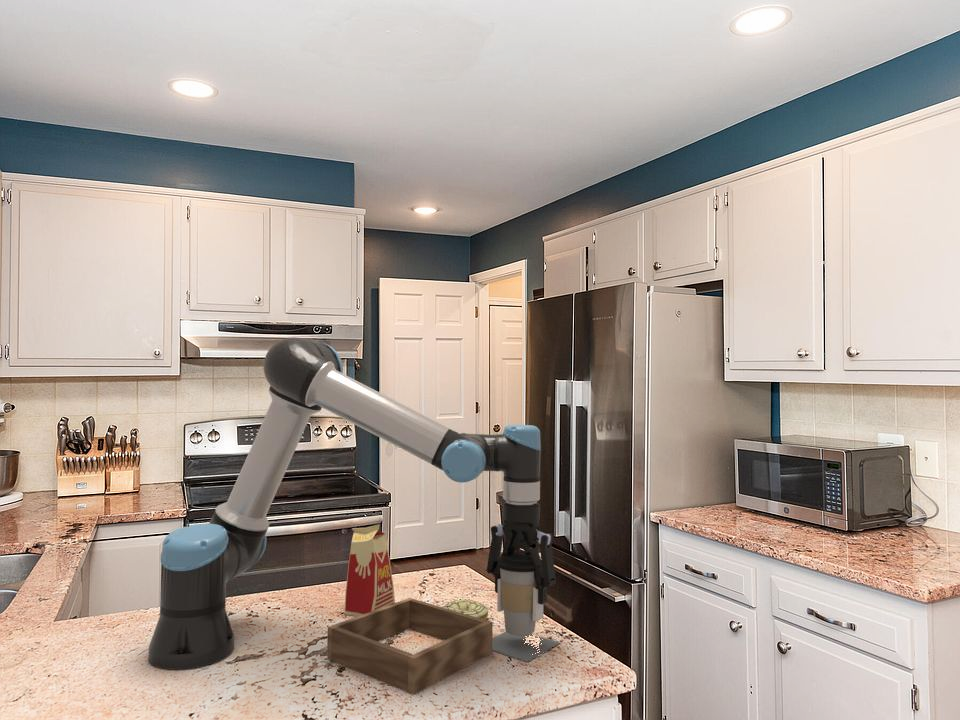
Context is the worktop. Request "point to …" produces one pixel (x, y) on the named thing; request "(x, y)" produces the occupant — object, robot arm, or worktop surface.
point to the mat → (520, 646)
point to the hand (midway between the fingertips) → (519, 614)
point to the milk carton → (368, 573)
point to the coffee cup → (517, 592)
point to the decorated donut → (468, 608)
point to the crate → (401, 669)
